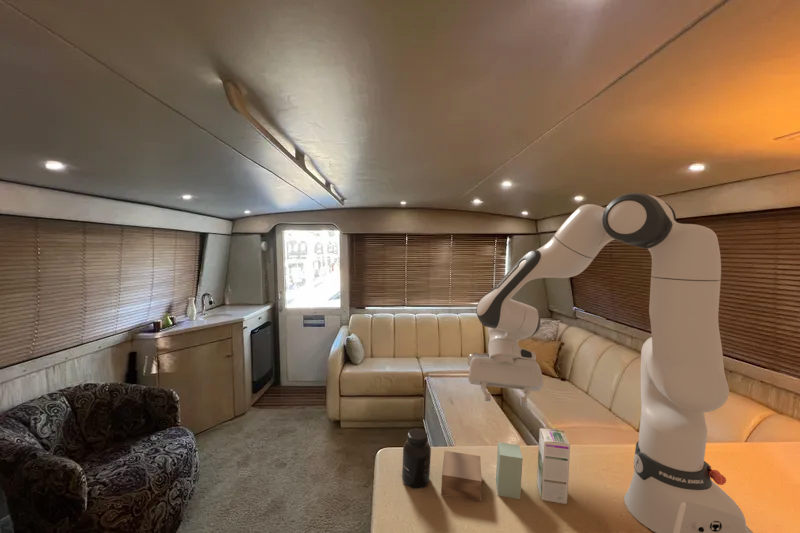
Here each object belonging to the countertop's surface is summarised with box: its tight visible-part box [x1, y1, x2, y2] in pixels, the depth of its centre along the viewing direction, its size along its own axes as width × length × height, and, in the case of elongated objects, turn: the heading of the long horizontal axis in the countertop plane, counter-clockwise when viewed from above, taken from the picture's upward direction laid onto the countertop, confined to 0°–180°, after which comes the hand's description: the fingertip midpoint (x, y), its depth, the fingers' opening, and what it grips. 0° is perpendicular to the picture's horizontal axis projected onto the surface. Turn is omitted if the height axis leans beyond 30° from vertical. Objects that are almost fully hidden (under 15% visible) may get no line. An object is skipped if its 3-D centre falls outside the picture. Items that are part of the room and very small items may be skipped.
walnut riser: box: [440, 450, 483, 503], centre depth 81 cm, size 9×9×5 cm
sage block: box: [495, 441, 524, 500], centre depth 80 cm, size 5×5×10 cm
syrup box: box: [536, 427, 571, 505], centre depth 78 cm, size 6×6×14 cm
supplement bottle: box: [401, 428, 432, 490], centre depth 82 cm, size 7×7×12 cm
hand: (505, 402), depth 90 cm, fingers open, 8 cm apart
